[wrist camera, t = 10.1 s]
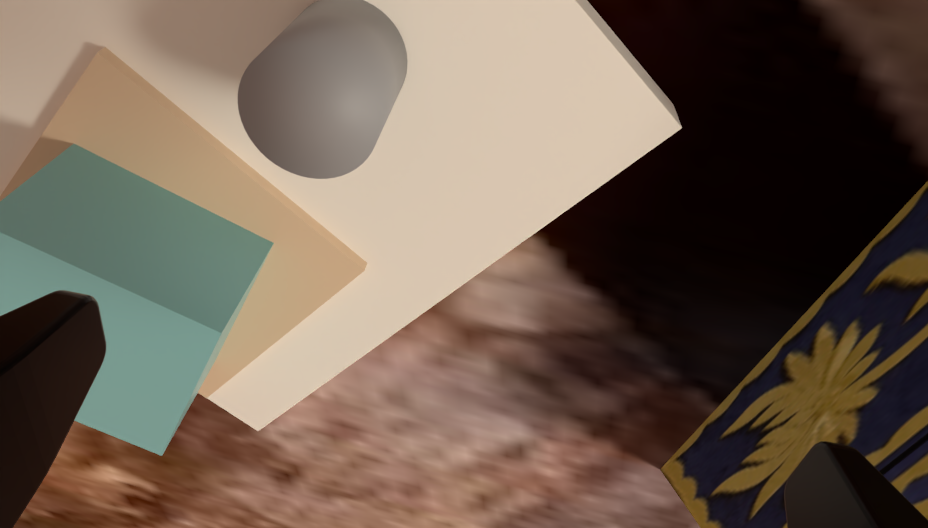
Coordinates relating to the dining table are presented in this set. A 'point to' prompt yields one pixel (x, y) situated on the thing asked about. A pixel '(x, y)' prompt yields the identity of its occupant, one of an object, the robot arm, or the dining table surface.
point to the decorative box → (826, 390)
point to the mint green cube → (130, 283)
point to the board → (425, 167)
